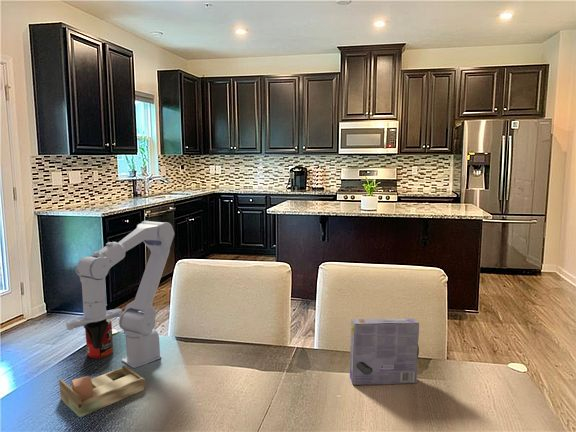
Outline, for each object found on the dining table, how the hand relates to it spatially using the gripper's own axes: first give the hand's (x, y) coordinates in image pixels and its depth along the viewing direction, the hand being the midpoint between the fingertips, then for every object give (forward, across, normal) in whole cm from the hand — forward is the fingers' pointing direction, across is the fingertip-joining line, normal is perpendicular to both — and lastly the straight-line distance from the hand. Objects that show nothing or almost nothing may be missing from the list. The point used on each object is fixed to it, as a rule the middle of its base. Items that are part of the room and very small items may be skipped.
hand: (97, 347), depth 122 cm
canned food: (+10, -8, -18) cm, 23 cm away
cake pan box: (+10, -54, +59) cm, 81 cm away
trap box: (+10, +2, +7) cm, 13 cm away
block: (+8, +8, +8) cm, 14 cm away
